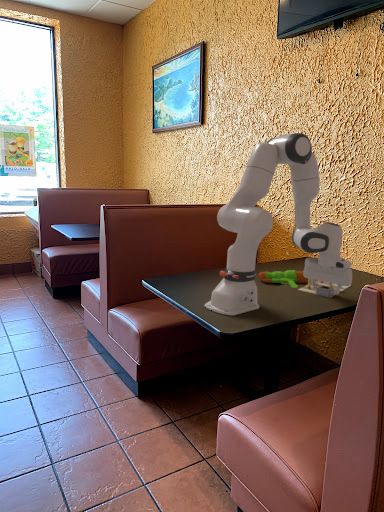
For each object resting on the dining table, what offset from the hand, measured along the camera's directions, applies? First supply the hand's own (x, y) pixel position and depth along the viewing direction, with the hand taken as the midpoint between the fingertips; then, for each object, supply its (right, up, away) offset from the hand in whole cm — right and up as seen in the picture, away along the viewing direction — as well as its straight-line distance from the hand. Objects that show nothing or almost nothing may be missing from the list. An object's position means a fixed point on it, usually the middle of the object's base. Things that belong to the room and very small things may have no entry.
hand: (325, 291), depth 163 cm
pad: (+12, +1, +14) cm, 18 cm away
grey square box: (0, -1, 0) cm, 1 cm away
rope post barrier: (+2, +1, +10) cm, 10 cm away
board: (+3, 0, +10) cm, 10 cm away
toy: (-14, +1, +16) cm, 21 cm away
